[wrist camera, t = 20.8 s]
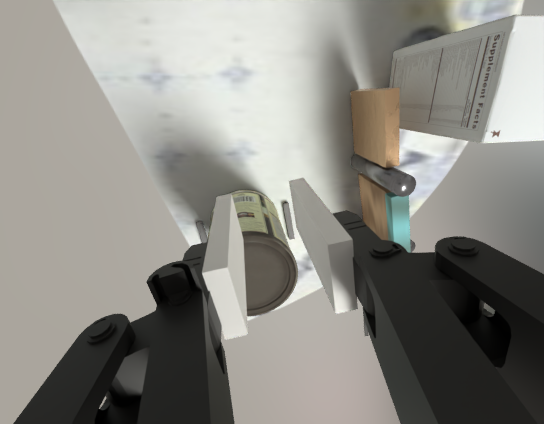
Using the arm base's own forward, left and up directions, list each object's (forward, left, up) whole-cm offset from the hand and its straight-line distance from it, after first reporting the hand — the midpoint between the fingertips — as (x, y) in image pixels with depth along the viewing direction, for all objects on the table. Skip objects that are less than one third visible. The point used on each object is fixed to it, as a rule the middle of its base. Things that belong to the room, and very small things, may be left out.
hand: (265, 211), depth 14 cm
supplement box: (-2, +24, -25) cm, 35 cm away
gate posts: (+7, +16, -25) cm, 30 cm away
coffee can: (+12, -3, -25) cm, 28 cm away
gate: (+14, +15, -23) cm, 32 cm away
